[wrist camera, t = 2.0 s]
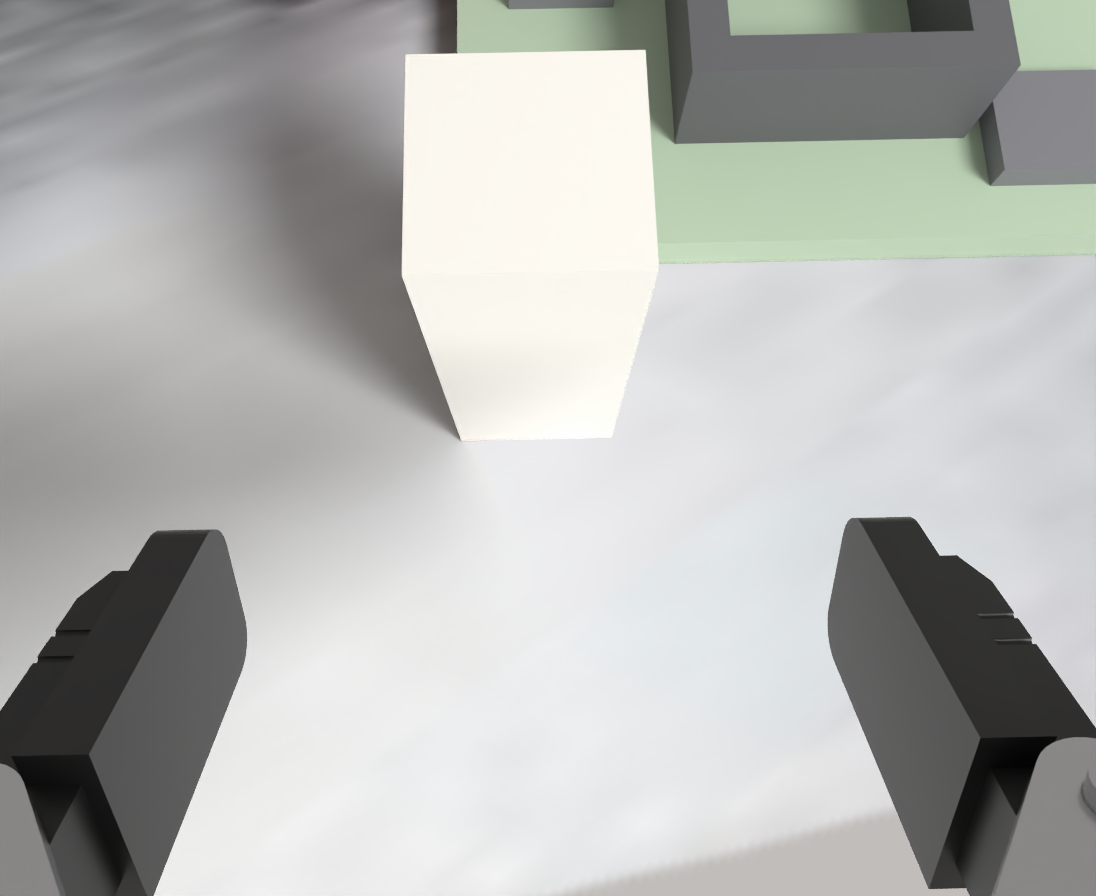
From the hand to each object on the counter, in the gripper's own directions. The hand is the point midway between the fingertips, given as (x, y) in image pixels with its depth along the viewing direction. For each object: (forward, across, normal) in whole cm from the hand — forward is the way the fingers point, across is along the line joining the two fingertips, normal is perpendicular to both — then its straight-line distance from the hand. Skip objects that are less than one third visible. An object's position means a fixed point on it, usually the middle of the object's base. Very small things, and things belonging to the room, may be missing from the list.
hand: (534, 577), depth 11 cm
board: (+20, -8, -4) cm, 22 cm away
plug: (+13, 0, +3) cm, 13 cm away
